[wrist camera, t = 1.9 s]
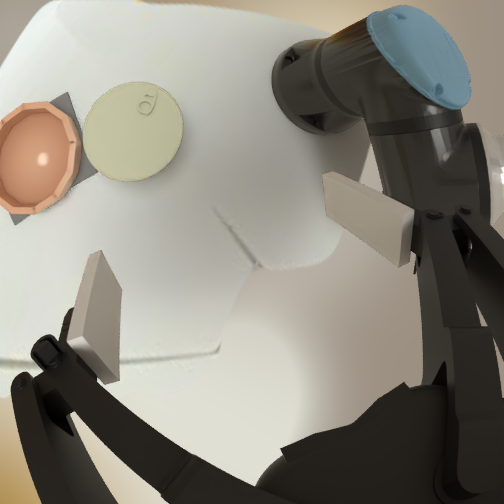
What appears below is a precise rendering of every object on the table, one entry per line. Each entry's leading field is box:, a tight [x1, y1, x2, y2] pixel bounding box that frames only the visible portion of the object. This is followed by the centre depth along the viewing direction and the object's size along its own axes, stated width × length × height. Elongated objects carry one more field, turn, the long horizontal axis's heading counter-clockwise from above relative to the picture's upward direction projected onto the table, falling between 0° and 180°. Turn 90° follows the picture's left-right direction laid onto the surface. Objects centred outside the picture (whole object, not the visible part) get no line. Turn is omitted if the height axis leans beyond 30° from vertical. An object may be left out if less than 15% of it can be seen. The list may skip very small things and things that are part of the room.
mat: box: [9, 92, 98, 225], centre depth 27 cm, size 14×12×1 cm
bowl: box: [0, 102, 82, 214], centre depth 26 cm, size 13×13×3 cm
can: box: [83, 82, 183, 182], centre depth 27 cm, size 9×9×12 cm
